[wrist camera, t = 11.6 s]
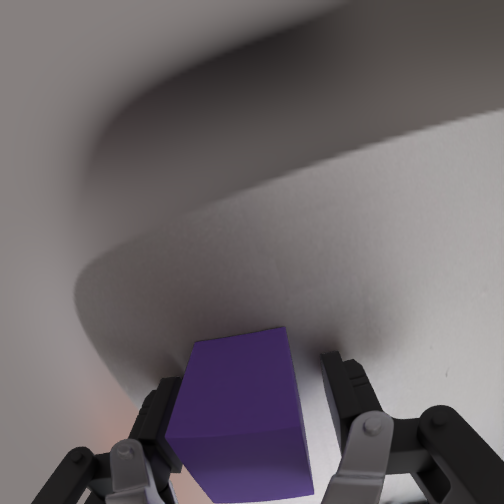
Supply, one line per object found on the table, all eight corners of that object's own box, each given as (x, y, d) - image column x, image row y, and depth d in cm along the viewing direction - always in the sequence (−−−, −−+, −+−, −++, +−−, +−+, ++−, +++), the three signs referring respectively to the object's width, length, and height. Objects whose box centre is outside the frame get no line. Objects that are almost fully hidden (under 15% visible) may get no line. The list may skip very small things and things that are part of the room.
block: (224, 415, 13) (213, 503, 8) (194, 341, 11) (163, 437, 7) (300, 404, 12) (314, 494, 7) (285, 326, 11) (300, 424, 6)
